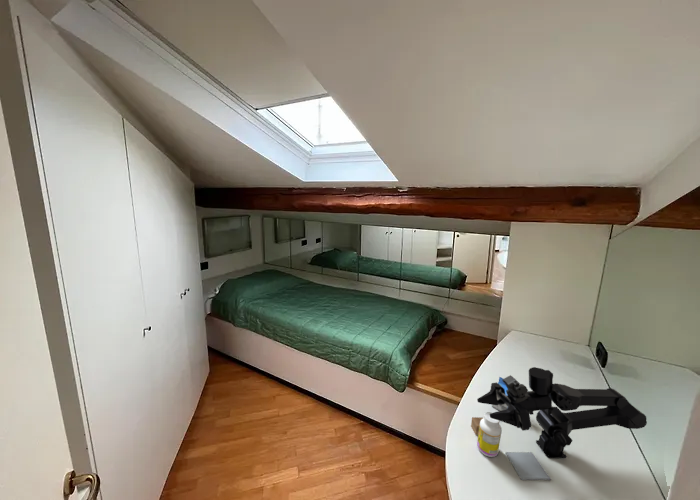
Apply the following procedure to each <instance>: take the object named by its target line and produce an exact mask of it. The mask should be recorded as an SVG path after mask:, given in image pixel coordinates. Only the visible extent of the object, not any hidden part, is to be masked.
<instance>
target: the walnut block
mask: <svg viewBox="0 0 700 500" xmlns="http://www.w3.org/2000/svg"><path fill="white" fill-rule="evenodd" d="M483 418H484V416H482V417H478V416H477V417H476V416H475V417H474V416H473V417H472V418H471V423H470V427H471V429H472V431H473V433H474V435H475V436H478V433H479V426H480V421H481V420H482V419H483Z"/></svg>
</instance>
